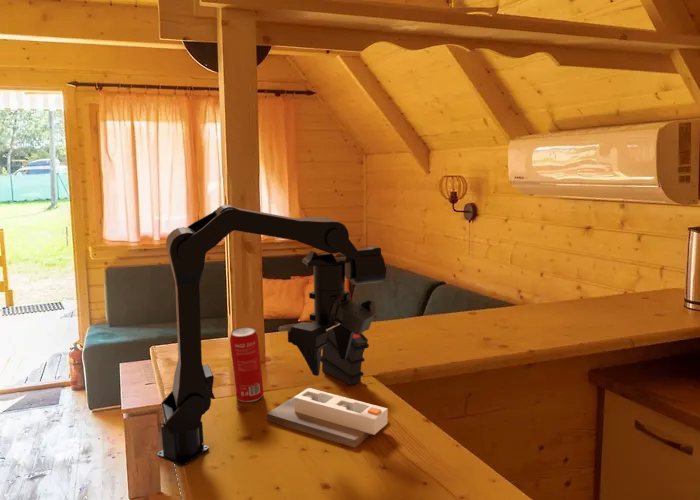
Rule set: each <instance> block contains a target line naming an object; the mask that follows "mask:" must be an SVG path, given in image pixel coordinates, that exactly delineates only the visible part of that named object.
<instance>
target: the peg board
mask: <svg viewBox="0 0 700 500" xmlns="http://www.w3.org/2000/svg"><path fill="white" fill-rule="evenodd" d="M303 391H304V390H302V391H301V392H303ZM301 392H299V393H297V394H296V395H294V396H292V397H290V398H289V399H288V400H287V401H284V402H283V403H281V404H280V405H279V406H276V407H275V408H274V409H271V410H270V411H269V412H267V413H266V420H267V421H268V422H270V423H273V424H277V425H280V426H283V427H285V428H289V429H292V430H296V431H299V432H302V433H306V434H308V435H312V436H314V437H319V438H322V439H325V440H327V441H331V442H334V443H338V444H341V445H345V446H347V447H351V448H354V449H355V448H357V447H358V446H359V445H360V444H362V443H363V442H364V441H365V440H366V439H367V438H369V436H371V434H370V433H366V432H363V431H360V430H356V429H353V428H349V427H346V426H343V425H339V424H336V423H332V422H329V421H325V420H322V419H319V418H315V417H312V416H308V415H305V414H302V413H298V412H295V411H294V397H295V396H297V395H298V394H300V393H301ZM306 397H309V398H312V400H314V396H313V395H307V396H306ZM340 406H342V407H346V408H347V410H348V405H346V404H342V405H340Z"/></svg>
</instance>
